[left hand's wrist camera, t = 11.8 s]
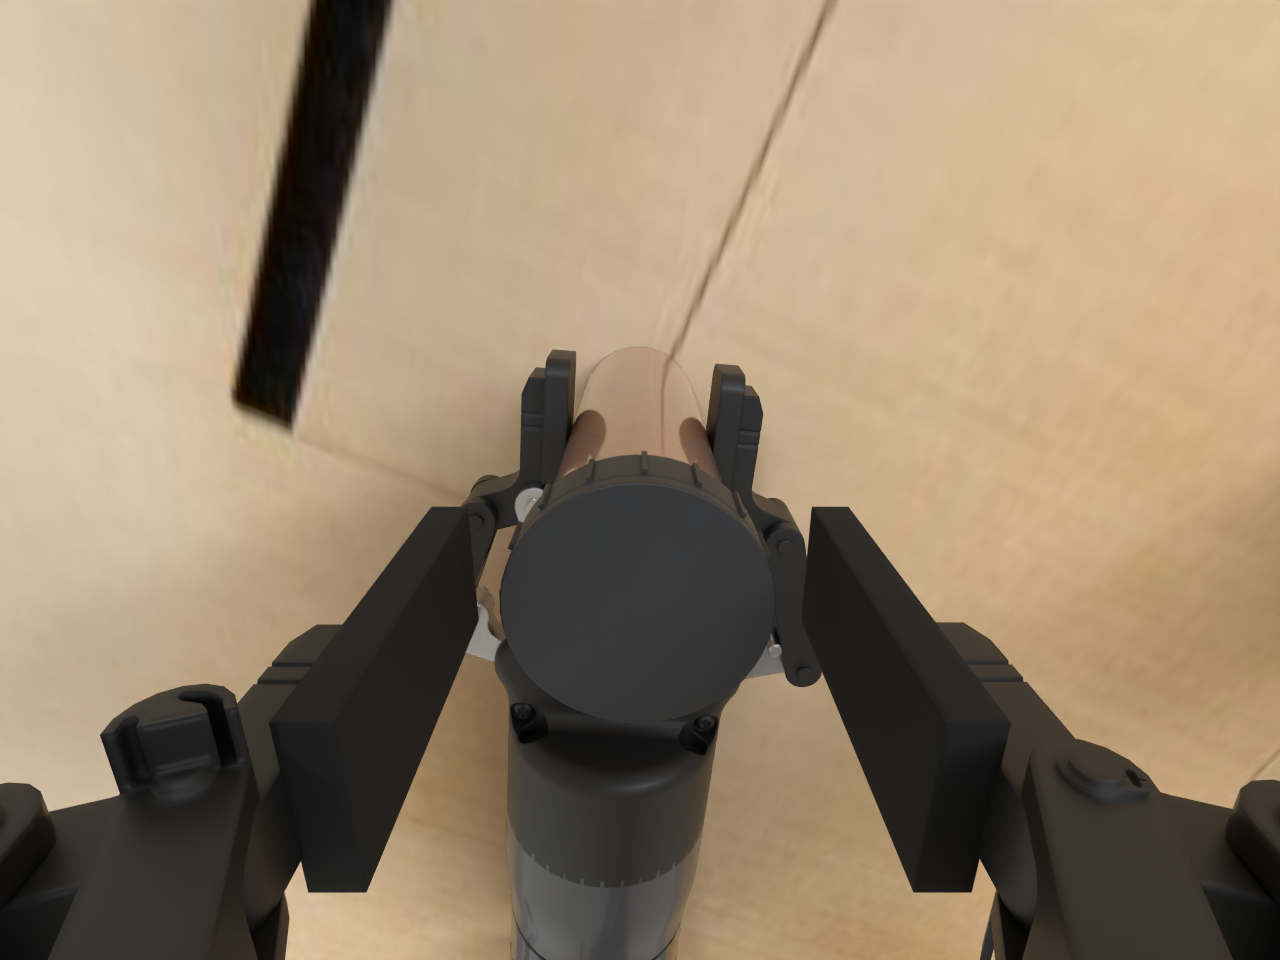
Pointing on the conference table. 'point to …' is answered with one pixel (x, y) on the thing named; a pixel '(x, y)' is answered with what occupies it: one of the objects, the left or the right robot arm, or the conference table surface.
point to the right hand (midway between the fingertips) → (645, 364)
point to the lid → (637, 589)
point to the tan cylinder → (638, 413)
